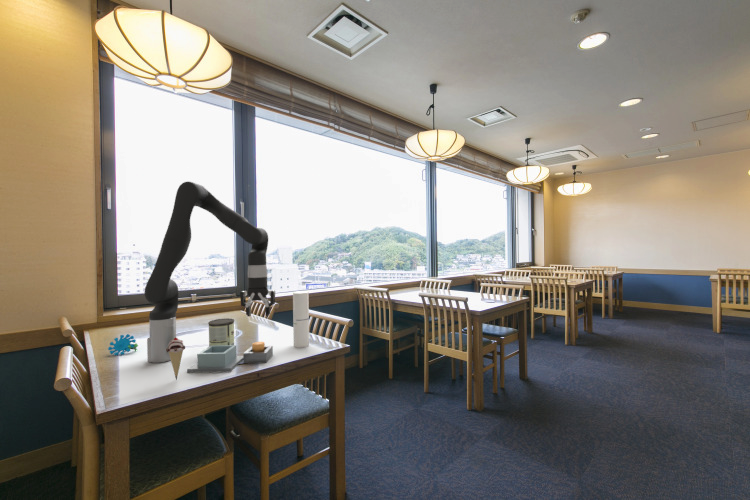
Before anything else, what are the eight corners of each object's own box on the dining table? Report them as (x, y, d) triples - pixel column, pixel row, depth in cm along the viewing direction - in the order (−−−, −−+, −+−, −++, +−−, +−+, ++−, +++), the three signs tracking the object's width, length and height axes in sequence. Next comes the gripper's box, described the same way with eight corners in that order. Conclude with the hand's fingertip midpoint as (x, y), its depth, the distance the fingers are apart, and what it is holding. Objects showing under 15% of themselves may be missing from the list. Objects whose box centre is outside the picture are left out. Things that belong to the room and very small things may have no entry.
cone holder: (187, 372, 119) (187, 355, 119) (206, 359, 133) (205, 344, 133) (230, 371, 120) (230, 355, 120) (244, 358, 134) (244, 343, 134)
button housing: (243, 363, 128) (243, 353, 128) (251, 355, 137) (251, 346, 137) (266, 362, 129) (266, 352, 129) (272, 355, 138) (272, 345, 138)
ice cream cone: (171, 385, 109) (170, 340, 108) (163, 381, 112) (162, 338, 111) (188, 379, 113) (188, 336, 113) (180, 375, 116) (179, 334, 116)
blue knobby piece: (102, 352, 138) (116, 332, 145) (108, 359, 142) (121, 338, 149) (128, 355, 138) (141, 334, 146) (134, 361, 143) (146, 341, 150)
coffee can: (209, 351, 144) (208, 319, 144) (234, 347, 148) (233, 317, 148) (208, 358, 135) (207, 324, 135) (235, 354, 139) (234, 322, 139)
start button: (250, 352, 131) (250, 345, 131) (254, 348, 135) (254, 341, 135) (262, 352, 131) (262, 345, 131) (266, 348, 136) (266, 341, 135)
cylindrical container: (305, 347, 147) (304, 293, 147) (290, 347, 149) (290, 293, 148) (311, 343, 154) (310, 291, 154) (297, 342, 156) (297, 291, 155)
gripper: (236, 277, 129) (237, 318, 129) (272, 276, 129) (273, 317, 129) (243, 275, 136) (244, 314, 136) (277, 274, 137) (278, 313, 137)
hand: (258, 315), depth 133 cm, fingers open, 7 cm apart
